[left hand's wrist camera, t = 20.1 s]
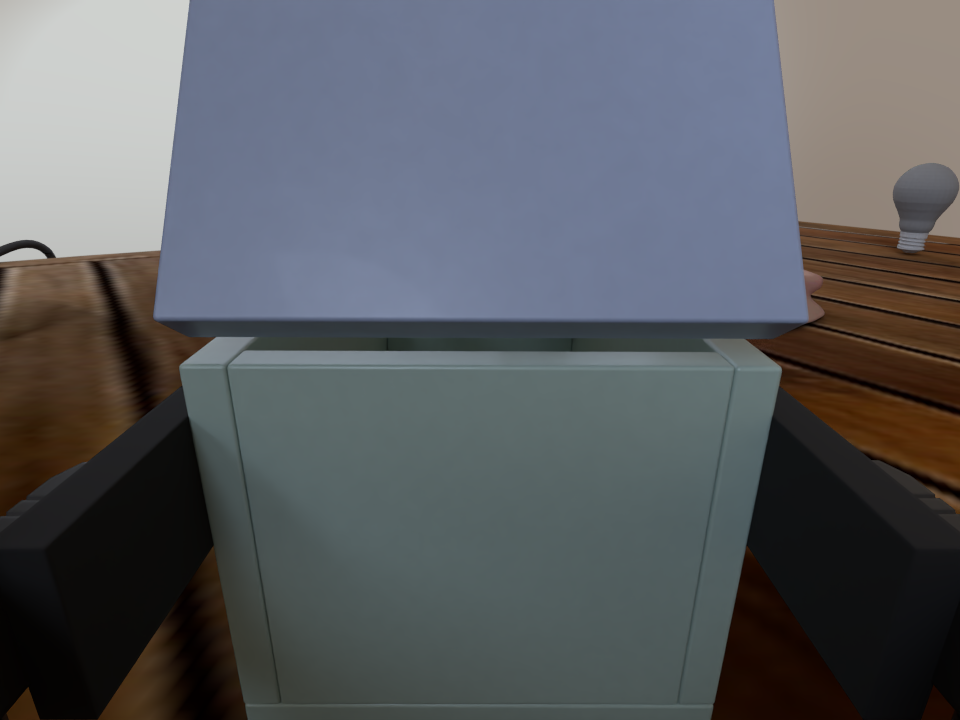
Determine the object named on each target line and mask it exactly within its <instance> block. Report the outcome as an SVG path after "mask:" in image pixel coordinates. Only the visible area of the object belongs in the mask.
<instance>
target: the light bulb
mask: <svg viewBox="0 0 960 720" xmlns="http://www.w3.org/2000/svg"><path fill="white" fill-rule="evenodd" d="M958 191H959V182H958V179H957V177H956V175H955V174H954V172H953V171H952V170H951V169H950V168H948V167H946V166H944V165H941V164H936V163H927V164H922V165H918V166H916V167H913V168H911V169H910V170H908V171H907V172H906V173H904V174H903V175H902V176H901V177H900V178H899V180H898V181H897V183H896V184H895V186H894V190H893V200H894V203H895V206H896V208H897V211H898V214H899V217H900V222H899V227H900V230H901V233H900V236H901V237H900V238H899V239H901V240H900V241H898V242H899V243H900V244H898V246H897V248H899V249H900V250H902V251H903V252H906V253H916V252H919V251H922V250H924V248H923V246H925V245H924V242H926V241H925V239H927V236H928V234H929V232H930V231H931V230H932V229H933V227H934V225H935V222H936V220H937V219H938V218H939V217H940V216H941V214H942V213H943V212H944V211H945V210H946V209H947V208H948V207H949V206H950V205H951V204H952V203H953V201H954V200H955V198H956V196H957V194H958Z"/></svg>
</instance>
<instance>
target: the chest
mask: <svg viewBox="0 0 960 720" xmlns="http://www.w3.org/2000/svg"><path fill="white" fill-rule="evenodd" d="M179 370H180V375H181V380H182V386H183V391H184V396H185V401H186V406H187V411H188V416H189V422H190V427H191V432H192V437H193V442H194V447H195V452H196V457H197V462H198V467H199V472H200V477H201V482H202V487H203V492H204V498H205V503H206V508H207V513H208V518H209V523H210V528H211V533H212V538H213V543H214V550H215V555H216V561H217V566H218V571H219V576H220V581H221V586H222V591H223V597H224V602H225V607H226V612H227V617H228V622H229V627H230V633H231V638H232V643H233V648H234V653H235V658H236V664H237V669H238V674H239V679H240V684H241V689H242V694H243V700H244V702H245V703H246V704H245V708H246V713H247V718H248V720H711V716H712V711H713V703H714V702H715V697H716V692H717V687H718V682H719V678H720V673H721V668H722V663H723V658H724V653H725V648H726V643H727V638H728V633H729V628H730V623H731V619H732V614H733V609H734V604H735V599H736V594H737V589H738V584H739V579H740V574H741V569H742V564H743V560H744V555H745V550H746V545H747V540H748V535H749V530H750V525H751V520H752V515H753V510H754V505H755V500H756V495H757V490H758V485H759V480H760V475H761V470H762V465H763V460H764V455H765V450H766V445H767V440H768V435H769V430H770V425H771V420H772V416H773V412H774V407H775V402H776V397H777V392H778V388H779V383H780V378H781V373H782V370H781V367H780V366H779V365H778V364H776V363H775V362H774V361H772V360H771V359H770V358H768V357H767V356H766V355H765V354H763V353H762V352H761V351H759V350H758V349H757V348H755V347H754V346H753V345H752V344H750V343H749V342H748V341H746V340H745V339H651V338H360V337H216V338H215V339H213V340H212V341H211V342H210V343H208V344H207V345H206V346H204V347H203V348H202V349H200V350H199V351H198V352H196V353H195V354H194V355H193V356H191V357H190V358H189V359H187V360H186V361H185V362H183V363H182V364H181V365H180V368H179Z"/></svg>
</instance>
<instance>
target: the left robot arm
mask: <svg viewBox="0 0 960 720" xmlns="http://www.w3.org/2000/svg"><path fill="white" fill-rule="evenodd" d="M21 248H34V249H37V250H40V251H41V252H42V253H43V254H44V255H45V256H46V257H47V258H56V256H55V254H54V253H53V252H52V250H51V249H50V248H48V247H47V246H46V245H44V244H42V243H40V242H37V241H33V240H21V241H16V242H13V243H9V244H6V245H3V246H1V247H0V256H2V255H4V254H7V253H9V252H11V251H14V250H17V249H21ZM6 513H7V514H6V516H1V517H0V720H9V719H8V717H7V714H6V713H7V711H8V710H9V709H10V708H11V707H12V705H13V704H14V703H15V702H16V701H17V699H18V698H19V697H20V696H21V695H22V693H23V692H24V691H25V690H26V689H27V687H29V690H30V693H31V695H32V698H33V701H34V704H35V707H36V710H37V712H38V715H39V718H40V720H97V719H98V718H99V716H100V715H101V713H102V712H103V710H104V709H105V707H106V706H107V704H108V703H109V701H110V700H111V698H112V697H113V695H114V694H115V692H116V691H117V689H118V688H119V686H120V685H121V683H122V682H123V680H124V679H125V677H126V676H127V674H128V673H129V671H130V670H131V668H132V667H133V665H134V664H135V662H136V661H137V659H138V658H139V656H140V655H141V653H142V652H143V650H144V649H145V647H146V646H147V644H148V643H149V641H150V640H151V638H152V637H153V635H154V634H155V632H156V631H157V629H158V628H159V626H160V625H161V623H162V622H163V620H164V619H165V617H166V616H167V614H168V613H169V611H170V610H171V608H172V607H173V605H174V604H175V602H176V601H177V599H178V598H179V596H180V595H181V593H182V592H183V590H184V589H185V587H186V586H187V584H188V583H189V581H190V580H191V578H192V577H193V575H194V574H195V572H196V571H197V569H198V568H199V566H200V565H201V563H202V562H203V560H204V559H205V557H206V556H207V554H208V553H209V551H210V550H211V548H212V547H213V545H214V543H213V538H212V533H211V528H210V523H209V518H208V513H207V508H206V503H205V498H204V492H203V487H202V482H201V477H200V472H199V467H198V462H197V457H196V452H195V447H194V442H193V437H192V432H191V427H190V422H189V416H188V411H187V406H186V401H185V396H184V391H183V386H181V387H180V388H179V389H177V390H176V391H175V392H174V393H172V394H171V395H170V396H169V397H167V398H166V399H165V400H164V401H163V402H161V403H160V404H159V405H158V406H156V407H155V408H154V409H153V410H151V411H150V412H149V413H148V414H146V415H145V416H144V417H143V418H141V419H140V420H139V421H138V422H136V423H135V424H134V425H133V426H132V427H130V428H129V429H128V430H127V431H125V432H124V433H123V434H122V435H120V436H119V437H118V438H117V439H115V440H114V441H113V442H112V443H110V444H109V445H108V446H107V447H105V448H104V449H103V450H102V451H100V452H99V453H98V454H97V455H96V456H94V457H93V458H92V459H91V460H89V461H88V462H83V463H80V464H78V465H76V466H74V467H72V468H70V469H68V470H66V471H64V472H62V473H60V474H58V475H56V476H54V477H52V478H50V479H49V480H48V481H46V482H45V483H44V484H42V485H41V486H40V487H39V488H37V489H36V490H35V491H33V492H32V493H31V494H29V495H28V496H27V499H26V500H22V501H20V502H19V503H18V504H17V505H15V506H14V507H13V508H11V509H10V510H9V511H8V512H6ZM747 546H748V547H749V549H750V550H751V552H752V553H753V555H754V556H755V558H756V559H757V561H758V562H759V564H760V565H761V567H762V568H763V570H764V571H765V573H766V574H767V576H768V577H769V579H770V580H771V582H772V583H773V585H774V586H775V588H776V589H777V591H778V592H779V594H780V595H781V597H782V598H783V600H784V601H785V603H786V604H787V606H788V607H789V609H790V610H791V612H792V613H793V615H794V616H795V618H796V619H797V621H798V622H799V624H800V625H801V627H802V628H803V630H804V631H805V633H806V634H807V636H808V637H809V639H810V640H811V642H812V643H813V645H814V646H815V648H816V649H817V651H818V652H819V654H820V655H821V657H822V658H823V660H824V661H825V663H826V664H827V666H828V667H829V669H830V670H831V672H832V673H833V675H834V676H835V678H836V679H837V681H838V682H839V684H840V685H841V687H842V688H843V690H844V691H845V693H846V694H847V696H848V697H849V699H850V700H851V702H852V703H853V705H854V706H855V708H856V709H857V711H858V712H859V714H860V715H861V717H862V718H863V720H921V718H922V715H923V712H924V709H925V707H926V704H927V701H928V698H929V695H930V693H931V690H932V687H933V684H934V686H935V687H936V688H937V689H938V690H939V691H940V693H941V694H942V695H943V696H944V697H945V699H946V700H947V701H948V702H949V703H950V705H951V706H952V707H953V708H954V709H955V711H954V714H953V717H952V719H951V720H960V514H956V513H955V510H954V509H953V508H952V507H951V506H949V505H948V504H947V503H945V502H944V501H943V500H941V499H940V498H935V494H934V493H932V492H931V491H930V490H928V489H927V488H926V487H925V486H923V485H922V484H921V483H919V482H918V481H917V480H915V479H914V478H913V477H911V476H910V475H908V474H906V473H904V472H902V471H899V470H897V469H895V468H893V467H891V466H889V465H887V464H885V463H883V462H881V461H879V460H870V459H869V458H868V457H867V456H865V455H864V454H863V453H862V452H860V451H859V450H858V449H857V448H855V447H854V446H853V445H852V444H850V443H849V442H848V441H847V440H845V439H844V438H843V437H842V436H840V435H839V434H838V433H837V432H835V431H834V430H833V429H832V428H831V427H829V426H828V425H827V424H826V423H824V422H823V421H822V420H821V419H819V418H818V417H817V416H816V415H814V414H813V413H812V412H811V411H809V410H808V409H807V408H806V407H804V406H803V405H802V404H801V403H799V402H798V401H797V400H796V399H795V398H793V397H792V396H791V395H790V394H788V393H787V392H786V391H785V390H783V389H782V388H781V387H780V386H779V388H778V392H777V397H776V402H775V407H774V412H773V416H772V420H771V425H770V430H769V435H768V440H767V445H766V450H765V455H764V460H763V465H762V470H761V475H760V480H759V485H758V490H757V495H756V500H755V505H754V510H753V515H752V520H751V525H750V530H749V535H748V540H747Z"/></svg>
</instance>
